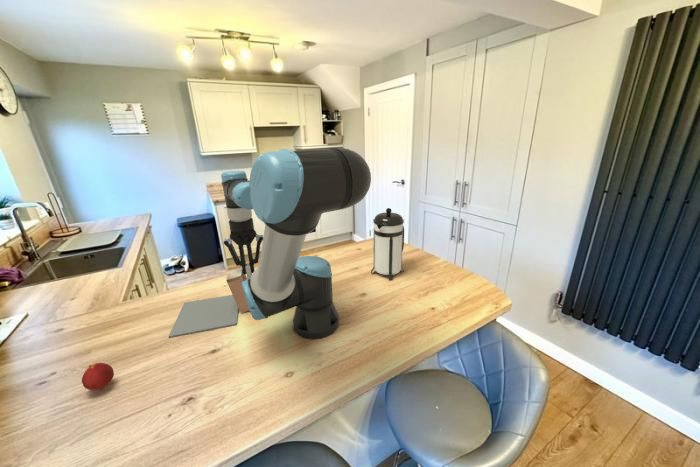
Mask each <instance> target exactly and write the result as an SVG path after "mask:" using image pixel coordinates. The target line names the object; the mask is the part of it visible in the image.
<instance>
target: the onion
mask: <svg viewBox="0 0 700 467" xmlns="http://www.w3.org/2000/svg"><path fill="white" fill-rule="evenodd" d="M114 375H115V373H114V368H113V367H112V366H111V365H110V364H108V363H106V362H92V363H90V364H89V365H88V368H87V369H86V370H85V371H84V373H83V375H82V376H81V384H82V386H83V387H84V389H87V390H90V391H98V390H103V389H105V388H106V387H107V386H108V385H109V384H111V382H112V380H113V378H114V377H115V376H114Z"/></svg>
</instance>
